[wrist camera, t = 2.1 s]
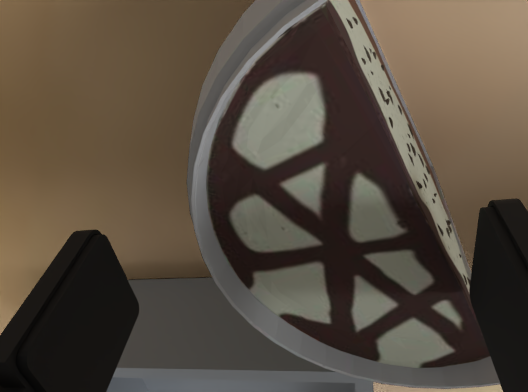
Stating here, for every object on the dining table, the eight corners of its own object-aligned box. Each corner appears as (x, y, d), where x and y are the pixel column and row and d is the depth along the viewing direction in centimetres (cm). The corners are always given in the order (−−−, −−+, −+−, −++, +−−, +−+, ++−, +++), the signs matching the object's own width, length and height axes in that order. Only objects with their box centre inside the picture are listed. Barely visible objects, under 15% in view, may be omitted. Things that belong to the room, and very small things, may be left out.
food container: (183, 14, 17) (50, 127, 9) (324, -79, 15) (310, -37, 7) (324, 234, 23) (317, 426, 15) (444, 191, 20) (515, 393, 12)
